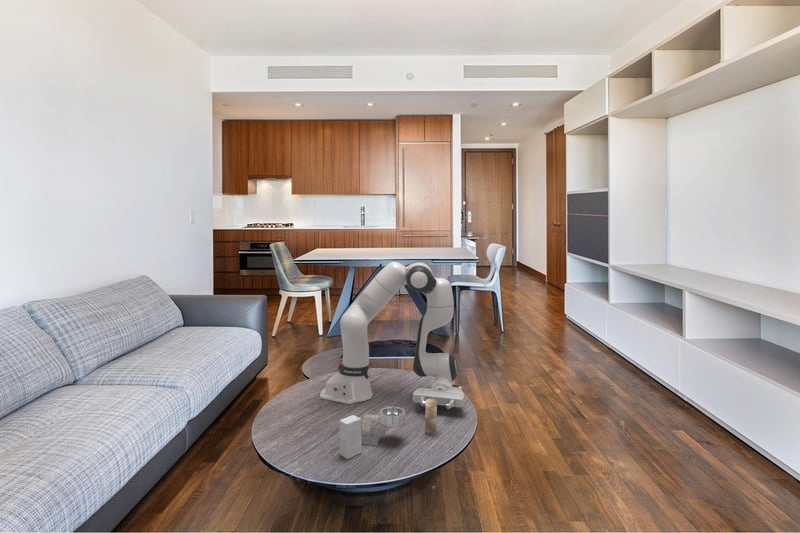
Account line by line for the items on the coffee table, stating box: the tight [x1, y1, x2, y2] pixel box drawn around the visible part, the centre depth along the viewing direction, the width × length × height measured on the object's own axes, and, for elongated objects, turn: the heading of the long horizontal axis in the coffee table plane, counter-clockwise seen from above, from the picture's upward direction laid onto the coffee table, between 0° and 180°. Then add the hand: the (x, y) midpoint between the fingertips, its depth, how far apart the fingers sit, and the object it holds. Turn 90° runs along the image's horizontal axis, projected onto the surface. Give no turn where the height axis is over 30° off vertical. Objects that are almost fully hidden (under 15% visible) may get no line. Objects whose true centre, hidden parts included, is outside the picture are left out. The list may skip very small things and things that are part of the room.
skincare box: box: [338, 414, 363, 460], centre depth 151 cm, size 6×4×12 cm
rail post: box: [424, 399, 438, 437], centre depth 166 cm, size 4×4×12 cm
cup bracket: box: [361, 405, 406, 447], centre depth 161 cm, size 18×10×10 cm, turn 76°
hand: (435, 405), depth 176 cm, fingers open, 8 cm apart
